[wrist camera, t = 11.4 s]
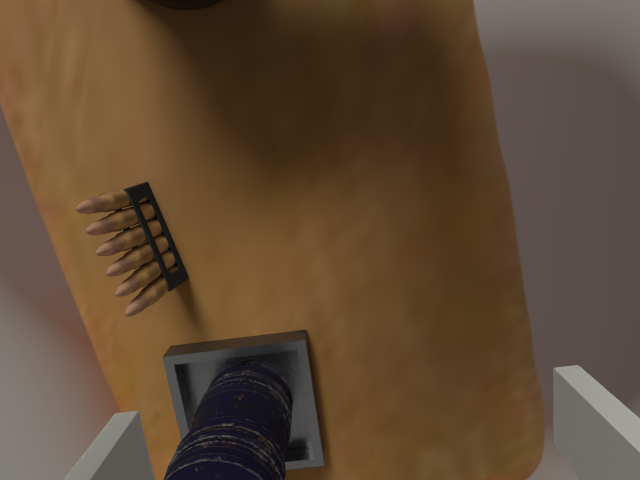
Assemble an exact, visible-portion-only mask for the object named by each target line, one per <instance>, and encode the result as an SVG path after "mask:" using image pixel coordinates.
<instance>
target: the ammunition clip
mask: <svg viewBox="0 0 640 480" xmlns="http://www.w3.org/2000/svg"><path fill="white" fill-rule="evenodd" d="M129 206H133V207H130V208H127V209H123V210H122V208H125V207H129ZM114 210H115V212H114V213H111V214H109V215H108V216H107V217H105V218H102V219H100V220H98V221H96V222H94V223H92V224H91V225H90V226H89V227H88V228H87V230H86V233H88V234H90V235H100V234H105V233H109V232H116V231H121V230H124V231H123V232H121V233H119V234H117V235H116V236H115V237H114V238H112V239H110V240H109V241H107V242H105V243H104V244H102V245H101V246H100V247H99V248H98V250H97V252H96V254H97V255H99V256H109V255H113V254H115V253H118V252H121V251H126V250H129V249H131V248H132V250H130V251H128V252H127V253H125V254H124V256H123V257H121V258H120V259H119V260H117V261H115V262H114V263H113V264H112V265H111V266H110V267H109V268H108V269H107V271H106V275H107V276H118V275H121V274H123V273H125V272H127V271H129V270H131V269H136V268H138V267H140V268H138V269H137V270H135V271H134V272H133V273H132V275H131V276H130V277H128V278H127V279H126V280H125V281H123V282H122V283H121V284H120V286H119V287H118V288H117V290H116V296H119V297H120V296H126V295H128V294H130V293H132V292H134V291H136V290H137V289H139V288H141V287H144V286H146V285H147V286H146V287H145V288H143V289H142V290H141V292H140V293H139V295H138V296H136V298H135V299H133V300H132V301H131V303H130V304H129V305H128V306H127V308H126V310H125V316H132V315H135V314H137V313H139V312H141V311H142V310H144V309H145V308H147V307H148V306H149V305H152V304H154V303H155V302H157V301H158V300H159V299H160V298H161V297H162V296H163V295H164V294H166V293H167V292H169V291H171V290H173V289H174V288H175V287H177V286H178V285H179V284H181V283H182V282H183V281H185V280H186V279H187V278H188V274H187V272H186V269H185V267H184V265H183V262H182V260H181V258H180V255H179V253H178V251H177V248H176V246H175V244H174V241H173V239H172V237H171V234H170V232H169V230H168V227H167V225H166V223H165V220H164V218H163V216H162V213H161V211H160V209H159V206H158V204H157V202H156V199H155V197H154V195H153V192H152V190H151V188H150V185H149V183H148V182H145V183H142V184H139V185H136V186H132V187H129V188H126V189H121V190H116V191H112V192H107V193H102V194H101V195H99V196H97V197H94V198H91V199H88V200H85V201H83V202H82V203H80V204H79V205H78V206H77V207H76V211H77V212H79V213H84V214H91V213H97V212H110V211H114ZM139 223H140V225H137V226H135V227H133V228H130V227H131V226H134V225H136V224H139ZM147 240H148V241H147ZM145 241H147V242H145ZM143 242H145V243H143ZM141 243H143V244H141ZM139 244H141V245H140V246H138V245H139ZM154 257H155V258H154ZM153 258H154V259H153ZM151 259H152V260H151ZM149 260H151V261H149ZM148 261H149V262H148ZM146 262H148V263H146Z"/></svg>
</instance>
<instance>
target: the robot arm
mask: <svg viewBox="0 0 640 480" xmlns="http://www.w3.org/2000/svg"><path fill="white" fill-rule="evenodd" d="M151 1H153V2H155V3H158V4H160V5H163V6H167V7H171V8H176V9H198V8H203V7H207V6H210V5H213V4H215V3H218V2H220V1H222V0H151ZM553 412H554V413H553V415H554V416H553V418H554V419H553V421H554V422H553V423H554V425H553V427H554V446H555V447H556V449H557V450H558V451H559V453H560V454H561V455H562V456H563V458H564V459H565V461H566V462H567V463H568V464H569V466H570V467H571V469H572V470H573V471H574V473H575V474H576V475H577V477H578V478H579V479H580V480H640V419H639V418H638V417H637V416H636V415H635V414H634V413H633V412H631V411H630V410H629V409H628V408H627V407H626V406H625V405H623V404H622V403H621V402H620V401H619V400H618V399H616V398H615V397H614V396H613V395H612V394H611V393H610V392H609V391H607V390H606V389H605V388H604V387H603V386H602V385H600V384H599V383H598V382H597V381H596V380H595V379H594V378H592V377H591V376H590V375H589V374H588V373H587V372H585V371H584V370H583V369H582V368H581V367H580V366H579V365H575V366H565V367H556V368H553ZM63 480H155V478H154V473H153V469H152V465H151V461H150V457H149V453H148V449H147V444H146V440H145V436H144V432H143V428H142V424H141V419H140V415H139V411H133V412H123V413H115V414H114V416H113V417H112V418H111V419H110V421H109V422H108V423H107V424H106V426H105V427H104V428H103V430H102V431H101V432H100V433H99V435H98V436H97V437H96V439H95V440H94V441H93V442H92V444H91V445H90V446H89V447H88V449H87V450H86V452H85V453H84V454H83V455H82V457H81V458H80V459H79V460H78V462H77V463H76V464H75V465H74V467H73V468H72V469H71V471H70V472H69V473H68V474H67V476H66V477H65V478H64V479H63Z"/></svg>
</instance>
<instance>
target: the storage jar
mask: <svg viewBox="0 0 640 480" xmlns="http://www.w3.org/2000/svg"><path fill="white" fill-rule="evenodd" d="M292 405H293V400H292V394H291V391H290V389H289V387H288V385H287V383H286V382H285V380H284V379H283V378H282V377H281V376H280V375H279V374H278V373H277V372H275V371H274V370H272V369H270V368H268V367H266V366H264V365H261V364H256V363H239V364H235V365H232V366H230V367H227V368H225V369H224V370H222V371H221V372H220V373H219V374H217V375H216V376H215V378H214V379H213V380H212V382H211V384H210V386H209V388H208V390H207V391H206V392H205V394H204V396H203V397H202V399H201V401H200V403H199V406H198V408H197V409H196V411H195V414H194V417H193V421H192V426H191V430H190V431H189V432H188V433H187V435H186V436H185V437H184V438H183V440H182V441H181V442H180V444H179V446H178V447H177V450H176V453H175V454H174V456H173V458H172V460H171V462H170V464H169V466H168V469H167V472H166V475H165V478H164V480H285V471H286V467H285V459H284V453H285V451H286V448H287V446H288V443H289V440H290V435H291V423H292Z"/></svg>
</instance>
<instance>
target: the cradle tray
mask: <svg viewBox="0 0 640 480" xmlns="http://www.w3.org/2000/svg"><path fill="white" fill-rule="evenodd" d="M163 361H164V366H165V370H166V374H167V379H168V383H169V388H170V392H171V396H172V401H173V405H174V410H175V414H176V418H177V423H178V427H179V432H180V436H181V440H183V438H184V437H185V436H186V435H187V433H188V432H189V431H190V430H191V426H192V421H193V417H194V414H195V411H196V409H197V408H198V406H199V403H200V401H201V399H202V397H203V396H204V394H205V392H206V391H207V390H208V388H209V386H210V384H211V382H212V380H213V379H214V378H215V376H216V375H217V374H219V373H220V372H221V371H222V370H224V369H225V368H227V367H230V366H232V365H235V364H239V363H256V364H261V365H264V366H266V367H268V368H270V369H272V370H274V371H275V372H277V373H278V374H279V375H280V376H281V377H282V378H283V379H284V380H285V382H286V383H287V385H288V387H289V389H290V391H291V394H292V400H293V405H292V423H291V435H290V440H289V443H288V446H287V448H286V451H285V453H284V459H285V467H286V470H291V469H300V468H310V467H319V466H324V444H323V438H322V431H321V424H320V418H319V411H318V404H317V398H316V391H315V384H314V378H313V371H312V364H311V358H310V351H309V345H308V338H307V331H306V330H301V331H293V332H285V333H276V334H268V335H260V336H251V337H243V338H235V339H227V340H218V341H210V342H202V343H194V344H185V345H177V346H171V347H170V348H169V349H168V351H167V352H166V353H165V355H164V356H163Z"/></svg>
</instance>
